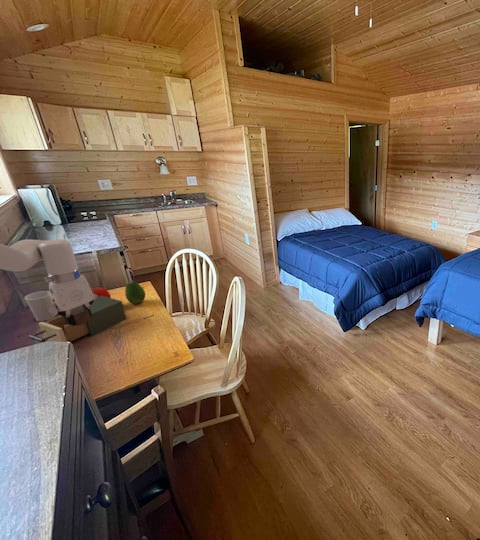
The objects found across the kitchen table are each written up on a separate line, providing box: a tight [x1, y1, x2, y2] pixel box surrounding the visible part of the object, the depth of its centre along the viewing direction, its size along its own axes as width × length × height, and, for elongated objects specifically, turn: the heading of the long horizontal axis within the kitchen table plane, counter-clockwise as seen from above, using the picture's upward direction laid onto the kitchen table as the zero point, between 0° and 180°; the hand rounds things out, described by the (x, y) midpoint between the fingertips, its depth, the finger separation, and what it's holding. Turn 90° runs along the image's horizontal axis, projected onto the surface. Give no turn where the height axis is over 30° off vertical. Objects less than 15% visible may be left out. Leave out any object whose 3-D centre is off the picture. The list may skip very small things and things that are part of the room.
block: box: [70, 307, 91, 326], centre depth 108 cm, size 4×4×4 cm
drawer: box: [28, 315, 90, 343], centre depth 121 cm, size 18×11×8 cm, turn 162°
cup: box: [24, 290, 57, 322], centre depth 132 cm, size 8×8×12 cm
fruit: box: [124, 280, 146, 305], centre depth 150 cm, size 8×8×12 cm
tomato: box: [91, 286, 112, 298], centre depth 143 cm, size 10×11×11 cm
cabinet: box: [70, 296, 127, 337], centre depth 132 cm, size 15×13×10 cm
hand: (79, 320), depth 109 cm, fingers closed on block, 4 cm apart
